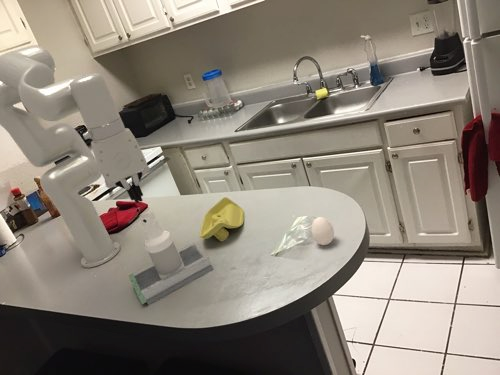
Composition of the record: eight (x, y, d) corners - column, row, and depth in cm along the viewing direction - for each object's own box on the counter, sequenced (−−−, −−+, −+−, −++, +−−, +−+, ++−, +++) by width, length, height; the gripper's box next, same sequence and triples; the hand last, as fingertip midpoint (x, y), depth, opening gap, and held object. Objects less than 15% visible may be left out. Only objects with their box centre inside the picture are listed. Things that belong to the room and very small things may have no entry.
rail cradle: (133, 286, 115) (128, 275, 113) (197, 252, 121) (193, 241, 119) (143, 307, 104) (138, 296, 103) (213, 269, 110) (208, 257, 109)
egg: (332, 250, 102) (325, 224, 99) (312, 249, 104) (304, 224, 102) (339, 237, 106) (332, 211, 103) (319, 237, 108) (312, 212, 106)
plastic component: (205, 213, 137) (227, 193, 134) (221, 229, 138) (244, 209, 136) (197, 241, 118) (223, 219, 116) (216, 259, 120) (242, 237, 117)
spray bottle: (156, 283, 111) (128, 224, 104) (166, 266, 116) (140, 209, 110) (180, 280, 108) (152, 219, 101) (189, 263, 114) (163, 205, 107)
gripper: (76, 145, 91) (111, 219, 99) (142, 119, 96) (171, 191, 103) (73, 140, 98) (106, 209, 105) (134, 116, 102) (162, 183, 110)
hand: (138, 200), depth 104 cm, fingers closed
